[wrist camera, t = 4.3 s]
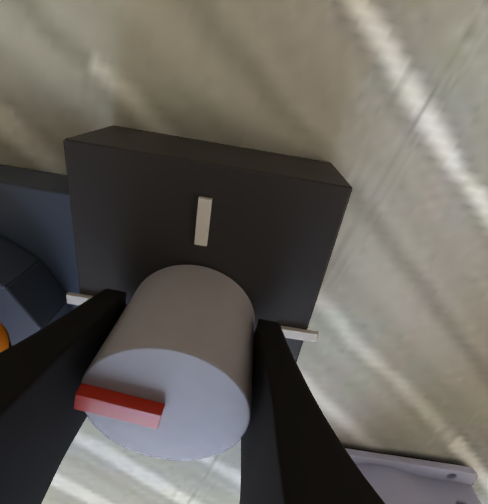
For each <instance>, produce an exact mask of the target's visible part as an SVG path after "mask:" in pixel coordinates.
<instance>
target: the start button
mask: <svg viewBox="0 0 488 504" xmlns="http://www.w3.org/2000/svg"><path fill="white" fill-rule="evenodd" d="M8 348H9V336H8V333H7V330H6V328H5V327H4V326H3V325H2V324H1V323H0V353H1V352H2V351H4V350H6V349H8Z"/></svg>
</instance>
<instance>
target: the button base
mask: <svg viewBox="0 0 488 504" xmlns="http://www.w3.org/2000/svg"><path fill="white" fill-rule="evenodd" d="M68 292H72V293H78V294H80V288H79V279H78V270H77V260H76V251H75V242H74V233H73V223H72V214H71V205H70V196H69V186H68V177H67V176H65V175H59V174H53V173H47V172H41V171H35V170H29V169H23V168H17V167H10V166H4V165H0V323H1V324H2V325H3V326H4V327H5V328H6V330H7V333H8V336H9V348H10V347H11V346H13V345H15V344H17V343H18V342H20V341H22V340H24V339H25V338H27V337H29V336H31V335H33V334H34V333H36V332H38V331H39V330H41V329H43V328H44V327H46V326H47V325H49V324H51V323H52V322H54V321H56V320H57V319H59V318H60V317H62V316H64V315H65V314H67V313H68V312H70V311H71V310H73V309H75V308H76V307H78V306H79V305H74V304H68V303H67V299H66V294H67V293H68Z"/></svg>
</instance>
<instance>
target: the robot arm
mask: <svg viewBox="0 0 488 504" xmlns="http://www.w3.org/2000/svg"><path fill="white" fill-rule="evenodd" d="M125 308H126V292H122V291H117V290H112V289H107V288H106V289H104V290H103V291H101V292H100V293H98V294H96V295H95V296H93V297H92V298H90V299H88V300H87V301H85V302H84V303H82V304H81V305H79V306H78V307H76V308H75V309H73V310H71V311H70V312H68V313H67V314H65V315H64V316H62V317H60V318H59V319H57V320H56V321H54V322H52V323H51V324H49V325H47V326H46V327H44V328H43V329H41V330H39V331H38V332H36V333H34V334H33V335H31V336H29V337H27V338H25V339H24V340H22V341H20V342H18V343H17V344H15V345H13V346H11V347H10V348H8V349H6V350H4V351H2V352H1V353H0V504H41V503H42V501H43V499H44V497H45V494H46V492H47V490H48V488H49V486H50V484H51V482H52V480H53V477H54V475H55V473H56V471H57V469H58V467H59V465H60V463H61V461H62V459H63V457H64V456H65V454H66V452H67V450H68V448H69V446H70V445H71V443H72V441H73V439H74V438H75V436H76V434H77V432H78V431H79V429H80V427H81V426H82V424H83V422H84V420H85V419H86V417H87V415H86V413H85V411H81V410H77V409H74V401H75V393H76V391H77V390H78V388H79V386H80V385H81V382H82V379H83V376H84V374H85V372H86V371H87V369H88V367H89V366H90V364H91V362H92V361H93V359H94V358H95V356H96V354H97V353H98V351H99V350H100V348H101V346H102V345H103V343H104V342H105V340H106V338H107V337H108V335H109V333H110V332H111V330H112V329H113V327H114V325H115V324H116V322H117V321H118V319H119V317H120V316H121V314H122V312H123V311H124V309H125ZM477 478H478V475H477V473H476V471H475V470H474V469H473V468H471V467H468V466H461V465H454V464H448V463H441V462H434V461H428V460H421V459H414V458H408V457H401V456H394V455H388V454H381V453H374V452H368V451H361V450H354V449H348V448H344V446H343V445H342V443H341V442H340V440H339V439H338V437H337V436H336V434H335V433H334V431H333V429H332V428H331V426H330V425H329V423H328V421H327V420H326V418H325V416H324V415H323V413H322V411H321V409H320V408H319V406H318V404H317V402H316V401H315V399H314V397H313V395H312V393H311V391H310V389H309V388H308V386H307V384H306V382H305V380H304V378H303V376H302V374H301V372H300V370H299V368H298V366H297V363H296V361H295V359H294V357H293V355H292V352H291V350H290V348H289V346H288V343H287V341H286V338H285V336H284V333H283V331H282V328H281V326H280V324H279V323H278V322H274V321H269V320H264V319H258V323H257V326H256V330H255V333H254V351H253V378H252V404H251V418H250V423H249V426H248V428H247V430H246V432H245V433H244V435H243V437H242V438H241V492H240V504H481V502H480V500H479V498H478V496H477V494H476V492H475V490H474V489H473V487H472V484H473V483H474V482H475V481H476V480H477Z"/></svg>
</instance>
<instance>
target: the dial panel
mask: <svg viewBox="0 0 488 504" xmlns="http://www.w3.org/2000/svg"><path fill="white" fill-rule="evenodd" d="M64 149H65V158H66V168H67V177H68V186H69V196H70V205H71V214H72V223H73V233H74V242H75V251H76V260H77V270H78V279H79V288H80V294H78V293H72V292H68V293H67V294H66V299H67V303H68V304H74V305H81V304H82V303H84V302H85V301H87V300H88V299H90V298H92V297H93V296H95V295H96V294H98V293H100V292H101V291H103V290H104V289H106V288H107V289H112V290H117V291H122V292H126V306H127V304H128V303H129V301H130V300H131V298H132V296H133V295H134V293H135V291H136V290H137V288H138V287H139V285H140V284H141V283H142V282H143V281H144V280H145V279H146V278H147V277H148V276H150V275H151V274H153V273H155V272H156V271H158V270H161V269H164V268H166V267H170V266H175V265H198V266H203V267H207V268H211V269H213V270H216V271H218V272H220V273H222V274H224V275H226V276H228V277H229V278H231V279H232V280H233V281H235V282H236V283H237V284H238V285H239V286H240V287H241V288H242V289H243V290H244V292H245V293H246V295H247V296H248V298H249V300H250V302H251V304H252V307H253V310H254V315H255V327H254V333H255V330H256V326H257V323H258V319H264V320H269V321H274V322H278V323H279V324H280V326H281V328H282V331H283V333H284V336H285V338H286V341H287V343H288V346H289V348H290V350H291V352H292V355H293V357H294V359H295V361H296V362H297V359H298V356H299V352H300V349H301V346H302V343H303V341H309V342H316V340H317V337H318V331H312V330H307V328H308V325H309V322H310V318H311V315H312V312H313V309H314V306H315V303H316V300H317V297H318V294H319V291H320V287H321V284H322V281H323V278H324V275H325V272H326V269H327V266H328V263H329V260H330V257H331V253H332V250H333V247H334V244H335V241H336V238H337V235H338V232H339V229H340V226H341V223H342V219H343V216H344V213H345V210H346V207H347V204H348V201H349V198H350V195H351V192H352V187H351V186H350V185H349V183H348V182H347V181H346V180H345V179H344V178H343V176H342V175H341V174H340V173H339V172H338V170H337V169H336V168H335V167H334V166H333V165H332V163H330V162H324V161H318V160H312V159H307V158H301V157H295V156H289V155H283V154H277V153H271V152H266V151H260V150H254V149H248V148H242V147H236V146H230V145H224V144H219V143H213V142H207V141H201V140H195V139H189V138H183V137H178V136H172V135H166V134H160V133H154V132H148V131H142V130H136V129H131V128H125V127H119V126H110V127H106V128H103V129H99V130H95V131H92V132H88V133H84V134H81V135H77V136H73V137H70V138H66V139H64Z"/></svg>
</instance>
